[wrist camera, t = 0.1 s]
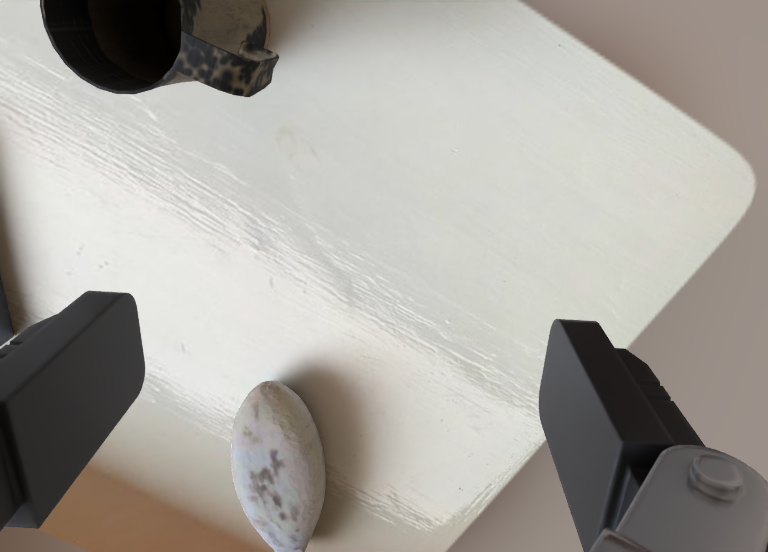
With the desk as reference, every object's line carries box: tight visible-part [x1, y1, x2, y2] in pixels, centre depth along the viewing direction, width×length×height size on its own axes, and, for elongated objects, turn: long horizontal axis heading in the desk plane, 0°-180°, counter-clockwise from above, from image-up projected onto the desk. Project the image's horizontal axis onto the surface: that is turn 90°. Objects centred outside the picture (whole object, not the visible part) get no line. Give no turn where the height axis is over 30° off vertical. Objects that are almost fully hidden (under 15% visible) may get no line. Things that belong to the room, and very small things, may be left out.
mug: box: [40, 0, 279, 97], centre depth 24 cm, size 8×6×12 cm
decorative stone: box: [231, 381, 325, 552], centre depth 39 cm, size 6×16×3 cm, turn 4°
